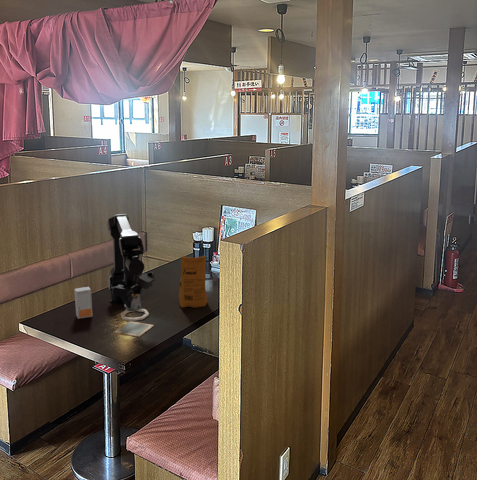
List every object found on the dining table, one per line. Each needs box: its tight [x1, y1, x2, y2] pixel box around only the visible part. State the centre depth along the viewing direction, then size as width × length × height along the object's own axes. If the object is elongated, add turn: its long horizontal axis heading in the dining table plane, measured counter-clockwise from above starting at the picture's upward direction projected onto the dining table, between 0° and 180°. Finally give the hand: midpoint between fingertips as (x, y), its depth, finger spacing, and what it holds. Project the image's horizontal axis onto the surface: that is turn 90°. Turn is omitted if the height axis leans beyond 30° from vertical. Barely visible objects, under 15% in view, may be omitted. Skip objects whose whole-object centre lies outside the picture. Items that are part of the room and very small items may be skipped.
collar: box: [120, 308, 150, 322], centre depth 213 cm, size 11×11×1 cm
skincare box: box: [73, 286, 93, 320], centre depth 211 cm, size 6×4×12 cm
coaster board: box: [113, 320, 155, 338], centre depth 200 cm, size 11×11×1 cm
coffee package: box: [178, 255, 208, 309], centre depth 223 cm, size 10×12×22 cm
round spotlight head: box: [124, 292, 143, 312], centre depth 197 cm, size 6×7×6 cm
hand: (133, 305), depth 197 cm, fingers closed on round spotlight head, 6 cm apart
